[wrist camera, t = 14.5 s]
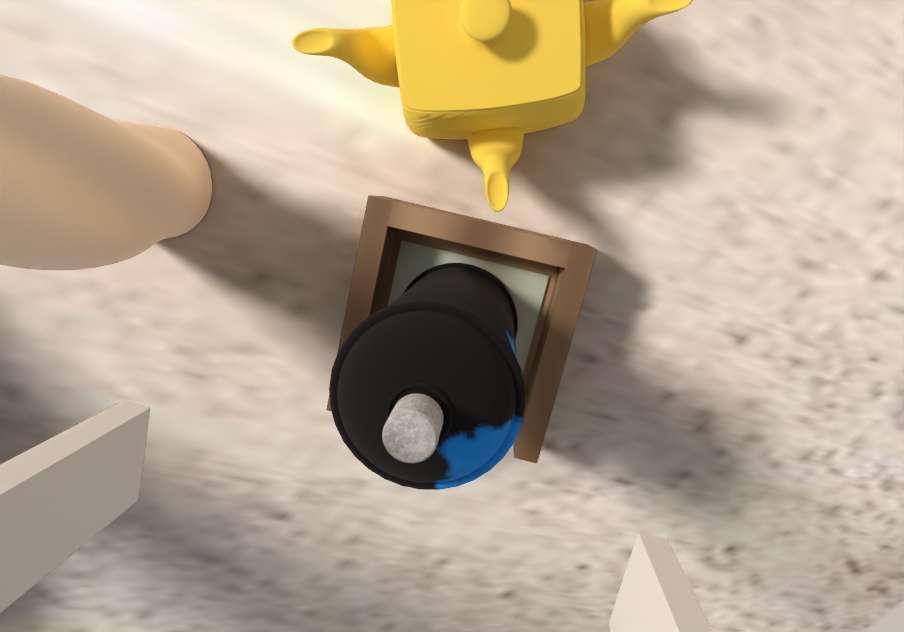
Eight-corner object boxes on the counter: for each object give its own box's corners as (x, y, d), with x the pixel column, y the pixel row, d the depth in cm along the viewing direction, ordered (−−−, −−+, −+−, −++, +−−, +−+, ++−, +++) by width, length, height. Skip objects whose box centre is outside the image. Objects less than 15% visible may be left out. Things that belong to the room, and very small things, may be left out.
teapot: (336, 78, 39) (282, 38, 29) (472, -115, 36) (460, -228, 27) (506, 220, 40) (507, 226, 30) (653, 42, 37) (704, -13, 27)
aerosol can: (372, 332, 41) (248, 451, 21) (445, 236, 39) (384, 270, 19) (467, 404, 41) (432, 589, 21) (543, 313, 39) (580, 422, 20)
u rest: (344, 388, 43) (326, 409, 38) (383, 196, 40) (368, 195, 36) (533, 436, 42) (536, 463, 38) (586, 244, 39) (596, 249, 35)
